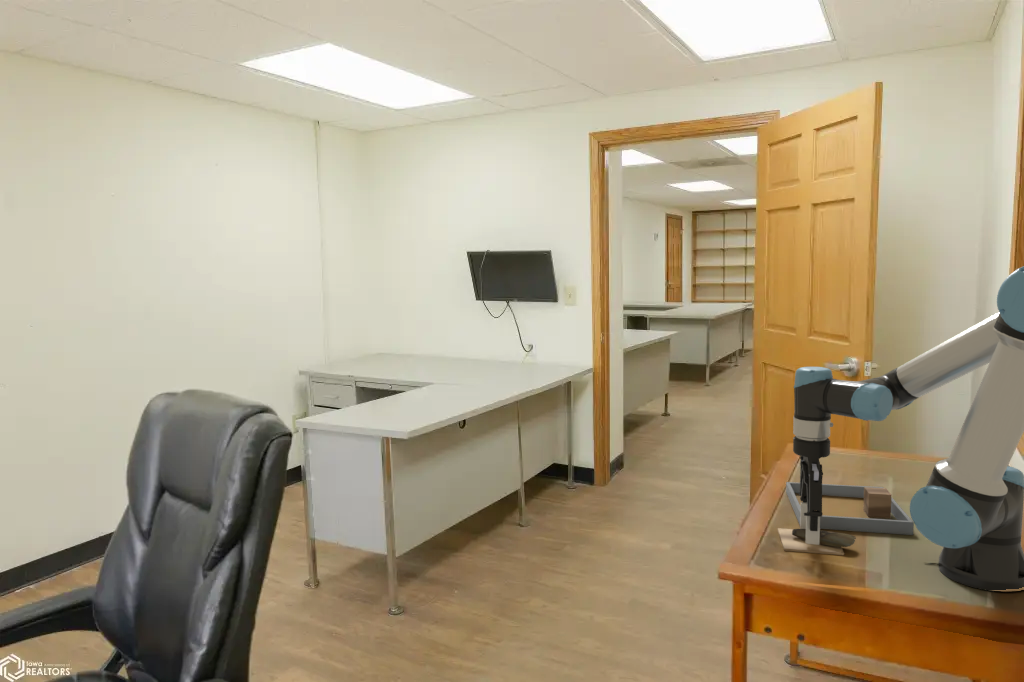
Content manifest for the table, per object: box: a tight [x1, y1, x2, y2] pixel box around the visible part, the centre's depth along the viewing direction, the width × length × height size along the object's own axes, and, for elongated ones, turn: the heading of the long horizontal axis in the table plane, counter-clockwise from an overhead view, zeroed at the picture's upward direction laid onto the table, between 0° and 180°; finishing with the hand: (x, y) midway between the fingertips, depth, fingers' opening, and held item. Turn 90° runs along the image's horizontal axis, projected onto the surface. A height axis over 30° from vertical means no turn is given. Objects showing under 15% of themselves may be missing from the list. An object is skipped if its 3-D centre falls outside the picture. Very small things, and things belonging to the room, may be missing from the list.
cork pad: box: [777, 527, 845, 556], centre depth 154 cm, size 12×12×1 cm
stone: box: [792, 528, 857, 548], centre depth 151 cm, size 13×5×2 cm, turn 57°
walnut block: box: [862, 487, 892, 519], centre depth 170 cm, size 5×5×6 cm
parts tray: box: [785, 481, 915, 536], centre depth 172 cm, size 26×24×3 cm
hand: (809, 536), depth 153 cm, fingers open, 7 cm apart
